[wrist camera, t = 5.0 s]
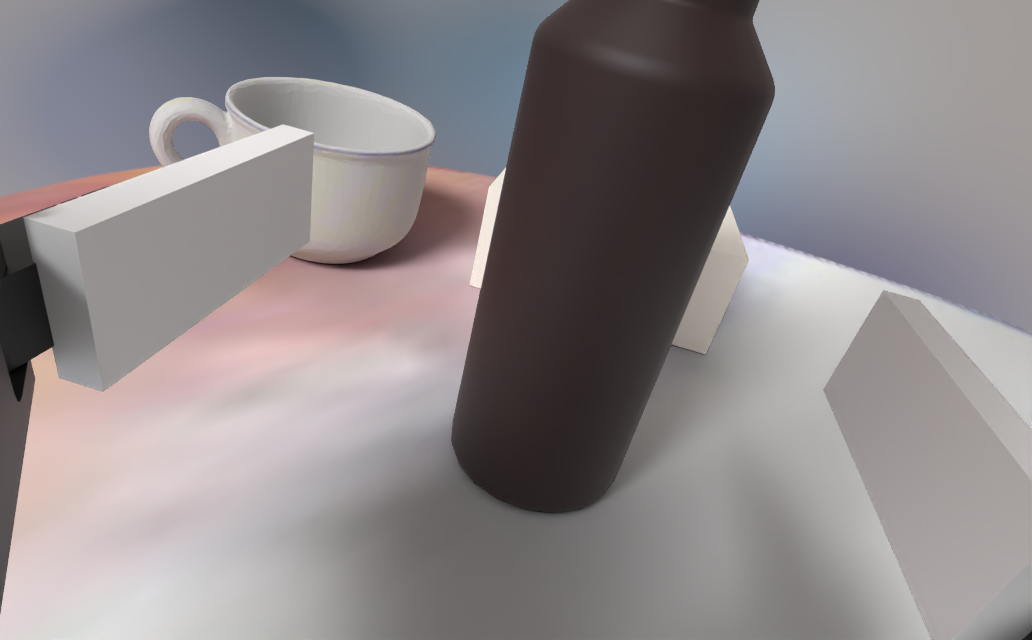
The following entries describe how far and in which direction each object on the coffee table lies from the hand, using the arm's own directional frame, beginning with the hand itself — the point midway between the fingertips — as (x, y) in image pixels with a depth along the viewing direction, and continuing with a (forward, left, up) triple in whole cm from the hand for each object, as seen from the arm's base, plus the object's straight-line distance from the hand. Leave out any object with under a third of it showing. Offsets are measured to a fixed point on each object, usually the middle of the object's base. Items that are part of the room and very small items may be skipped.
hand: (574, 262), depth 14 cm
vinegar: (+3, -5, -11) cm, 12 cm away
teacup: (+23, -5, -11) cm, 26 cm away
